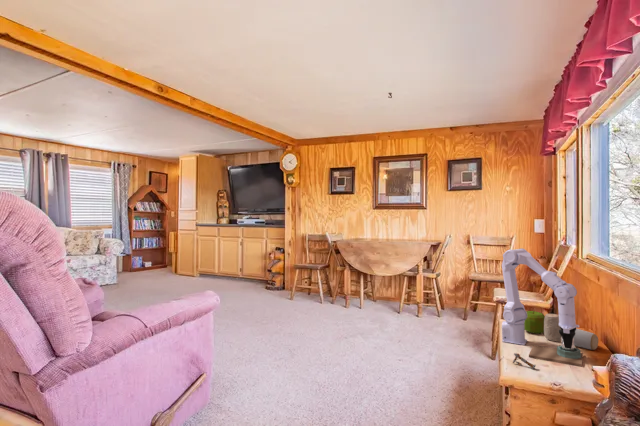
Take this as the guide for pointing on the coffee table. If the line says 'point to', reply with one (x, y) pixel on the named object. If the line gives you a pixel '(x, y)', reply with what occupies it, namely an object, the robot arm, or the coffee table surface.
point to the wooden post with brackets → (522, 360)
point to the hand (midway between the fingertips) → (568, 346)
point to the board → (557, 355)
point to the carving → (552, 327)
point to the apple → (534, 322)
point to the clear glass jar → (568, 348)
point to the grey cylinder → (585, 339)
